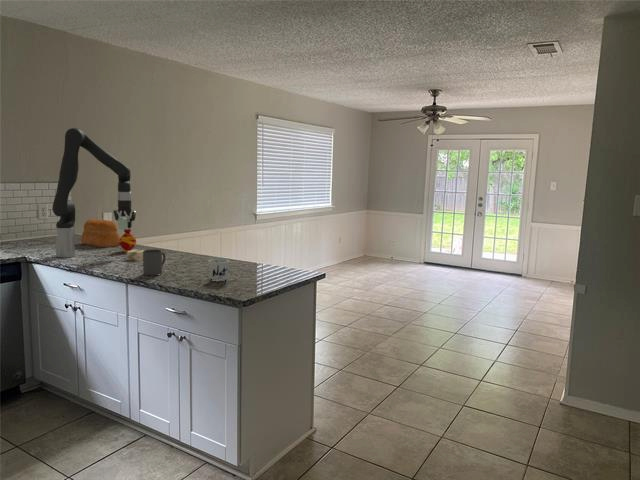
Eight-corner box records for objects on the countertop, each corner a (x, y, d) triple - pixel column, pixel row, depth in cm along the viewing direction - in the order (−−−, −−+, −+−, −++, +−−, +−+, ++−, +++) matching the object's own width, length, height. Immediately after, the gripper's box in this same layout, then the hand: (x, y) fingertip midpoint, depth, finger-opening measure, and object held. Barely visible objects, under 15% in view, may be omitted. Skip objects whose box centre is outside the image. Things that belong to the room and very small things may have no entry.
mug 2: (210, 283, 236) (210, 263, 235) (204, 276, 250) (204, 257, 248) (231, 282, 240) (231, 261, 239) (225, 275, 254) (225, 256, 252)
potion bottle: (115, 252, 309) (114, 228, 307) (127, 249, 318) (127, 226, 316) (128, 253, 305) (127, 229, 303) (140, 251, 314) (139, 227, 312)
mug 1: (153, 276, 246) (152, 253, 244) (139, 274, 250) (138, 251, 248) (172, 272, 258) (171, 249, 256) (158, 269, 262) (158, 247, 260)
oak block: (126, 260, 286) (126, 251, 285) (135, 257, 294) (135, 249, 293) (138, 261, 284) (138, 252, 284) (147, 258, 292) (146, 250, 291)
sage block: (118, 229, 292) (118, 219, 291) (123, 228, 297) (123, 218, 296) (126, 229, 291) (126, 219, 290) (131, 228, 296) (131, 218, 295)
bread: (102, 248, 320) (101, 222, 318) (78, 244, 334) (77, 218, 332) (123, 245, 333) (122, 220, 331) (100, 241, 347) (99, 217, 345)
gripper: (109, 199, 289) (110, 227, 291) (131, 200, 286) (132, 229, 289) (117, 198, 296) (118, 226, 299) (139, 199, 293) (139, 227, 296)
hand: (125, 227), depth 294 cm, fingers closed on sage block, 5 cm apart
